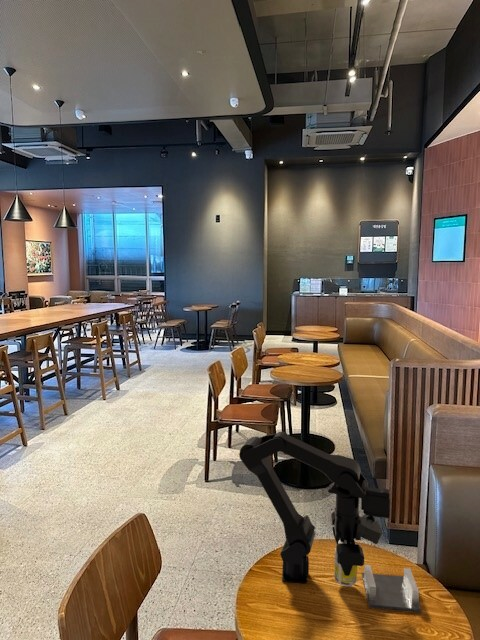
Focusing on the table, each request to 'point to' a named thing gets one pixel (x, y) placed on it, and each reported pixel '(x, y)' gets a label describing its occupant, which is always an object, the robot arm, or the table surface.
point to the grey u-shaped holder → (391, 591)
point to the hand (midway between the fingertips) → (345, 567)
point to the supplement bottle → (341, 576)
